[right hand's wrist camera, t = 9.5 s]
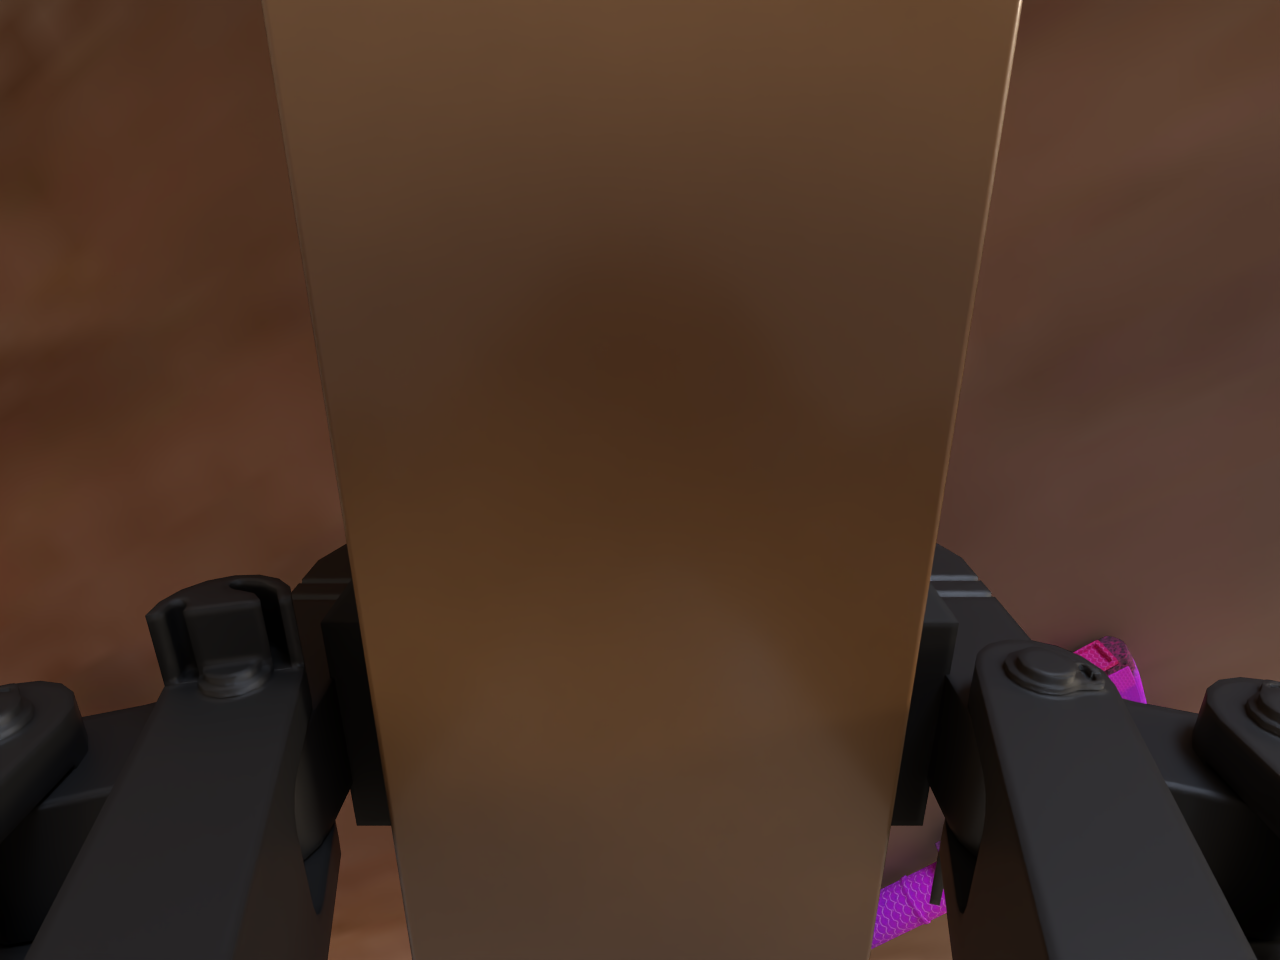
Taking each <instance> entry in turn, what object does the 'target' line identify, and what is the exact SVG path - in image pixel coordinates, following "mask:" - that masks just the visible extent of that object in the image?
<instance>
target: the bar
mask: <svg viewBox="0 0 1280 960" xmlns="http://www.w3.org/2000/svg"><path fill="white" fill-rule="evenodd" d="M1022 2H1023V0H261V3H262V9H263V16H264V22H265V28H266V35H267V41H268V47H269V54H270V60H271V66H272V73H273V79H274V85H275V92H276V98H277V104H278V111H279V117H280V123H281V130H282V136H283V142H284V149H285V155H286V161H287V168H288V174H289V180H290V187H291V193H292V200H293V206H294V212H295V219H296V225H297V231H298V238H299V244H300V250H301V257H302V263H303V269H304V276H305V282H306V288H307V295H308V301H309V307H310V314H311V320H312V326H313V333H314V339H315V345H316V352H317V358H318V364H319V371H320V377H321V383H322V390H323V396H324V402H325V409H326V415H327V421H328V428H329V434H330V440H331V447H332V453H333V460H334V466H335V472H336V479H337V485H338V491H339V498H340V504H341V510H342V517H343V523H344V529H345V536H346V542H347V548H348V555H349V561H350V567H351V574H352V580H353V586H354V593H355V599H356V605H357V612H358V618H359V624H360V631H361V637H362V643H363V650H364V656H365V662H366V669H367V675H368V681H369V688H370V694H371V701H372V707H373V713H374V720H375V726H376V732H377V739H378V745H379V751H380V758H381V764H382V770H383V777H384V783H385V789H386V796H387V802H388V808H389V815H390V821H391V827H392V834H393V840H394V846H395V853H396V859H397V865H398V872H399V878H400V884H401V891H402V897H403V903H404V910H405V916H406V922H407V929H408V935H409V941H410V948H411V954H412V960H869V959H870V953H871V947H872V940H873V934H874V928H875V922H876V915H877V909H878V903H879V897H880V890H881V884H882V878H883V872H884V865H885V859H886V853H887V847H888V840H889V834H890V828H891V821H892V815H893V809H894V803H895V796H896V790H897V784H898V778H899V771H900V765H901V759H902V753H903V746H904V740H905V734H906V728H907V721H908V715H909V709H910V703H911V696H912V690H913V684H914V678H915V671H916V665H917V659H918V653H919V646H920V640H921V634H922V628H923V621H924V615H925V609H926V602H927V596H928V590H929V584H930V577H931V571H932V565H933V559H934V552H935V546H936V540H937V534H938V527H939V521H940V515H941V509H942V502H943V496H944V490H945V484H946V477H947V471H948V465H949V459H950V452H951V446H952V440H953V434H954V427H955V421H956V415H957V409H958V402H959V396H960V390H961V383H962V377H963V371H964V365H965V358H966V352H967V346H968V340H969V333H970V327H971V321H972V315H973V308H974V302H975V296H976V290H977V283H978V277H979V271H980V265H981V258H982V252H983V246H984V240H985V233H986V227H987V221H988V215H989V208H990V202H991V196H992V190H993V183H994V177H995V171H996V165H997V158H998V152H999V146H1000V139H1001V133H1002V127H1003V121H1004V114H1005V108H1006V102H1007V96H1008V89H1009V83H1010V77H1011V71H1012V64H1013V58H1014V52H1015V46H1016V39H1017V33H1018V27H1019V21H1020V14H1021V8H1022Z"/></svg>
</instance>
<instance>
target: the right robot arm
mask: <svg viewBox="0 0 1280 960" xmlns="http://www.w3.org/2000/svg"><path fill="white" fill-rule="evenodd" d="M145 617H146V620H147V624H148V627H149V631H150V634H151V638H152V642H153V645H154V649H155V652H156V656H157V660H158V663H159V667H160V670H161V674H162V678H163V681H164V685H165V687H164V689H163V691H162V693H161V695H160V697H159V698H158V700H157V702H155V703H151V704H147V705H143V706H138V707H133V708H127V709H122V710H117V711H112V712H107V713H101V714H96V715H91V716H86V717H81V714H80V711H79V708H78V705H77V702H76V699H75V696H74V693H73V692H72V691H71V690H70V689H68V688H67V687H66V686H64V685H63V684H60V683H53V682H45V681H35V682H26V683H17V684H15V683H13V684H7V685H2V686H0V960H328V952H329V944H330V936H331V928H332V921H333V913H334V905H335V897H336V889H337V881H338V873H339V866H340V858H341V850H340V844H339V837H338V832H337V827H336V821H335V819H336V817H337V815H338V813H339V811H340V809H341V807H342V805H343V803H344V800H345V798H346V796H347V794H348V792H349V790H351V796H352V801H353V807H354V812H355V818H356V823H357V826H391V821H390V815H389V808H388V802H387V796H386V789H385V783H384V777H383V770H382V764H381V758H380V751H379V745H378V739H377V732H376V726H375V720H374V713H373V707H372V701H371V694H370V688H369V681H368V675H367V669H366V662H365V656H364V650H363V643H362V637H361V631H360V624H359V618H358V612H357V605H356V599H355V593H354V586H353V580H352V574H351V567H350V561H349V555H348V548H347V544H345V545H344V546H342V547H340V548H339V549H337V550H335V551H333V552H332V553H330V554H328V555H327V556H325V557H323V558H322V559H320V560H318V561H317V563H316V564H315V565H314V566H313V567H312V568H311V570H310V571H309V572H308V573H307V574H306V576H305V577H304V578H303V579H302V583H299V584H298V585H297V586H296V588H295V589H294V590H293V591H292V592H291V589H290V586H288V585H287V584H286V583H284V582H283V581H281V580H280V579H278V578H273V577H268V576H263V575H235V576H230V577H224V578H219V579H214V580H208V581H205V582H202V583H199V584H197V585H194V586H191V587H188V588H185V589H182V590H180V591H178V592H176V593H175V594H173V595H171V596H169V597H167V598H166V599H164V600H162V601H160V602H159V603H158V604H157V605H156V606H155V607H154V608H153V609H152V610H151V611H150V612H149V613H148V614H147V615H146V616H145ZM929 787H931V789H932V791H933V793H934V796H935V798H936V800H937V802H938V804H939V806H940V808H941V810H942V812H943V814H944V817H945V821H944V827H943V832H942V837H941V842H940V847H939V852H938V858H937V863H936V868H935V873H934V878H933V883H932V889H931V896H930V902H929V904H933V905H938V906H940V903H941V898H942V893H943V889H944V895H945V903H946V911H947V919H948V927H949V934H950V942H951V950H952V958H953V960H1280V682H1277V681H1273V680H1261V679H1252V678H1243V677H1238V678H1230V679H1223V680H1218V681H1217V682H1215V683H1214V684H1213V685H1211V686H1210V687H1209V688H1207V690H1206V693H1205V696H1204V699H1203V702H1202V705H1201V708H1200V711H1199V714H1197V713H1192V712H1187V711H1181V710H1176V709H1171V708H1166V707H1160V706H1155V705H1150V704H1145V703H1139V702H1135V701H1131V700H1127V699H1123V698H1122V697H1121V695H1120V693H1119V691H1118V689H1117V687H1116V685H1115V684H1114V683H1113V682H1112V681H1111V679H1110V678H1109V677H1108V676H1107V675H1106V673H1105V672H1104V671H1103V670H1102V669H1100V668H1099V667H1097V666H1096V665H1094V664H1093V663H1091V662H1090V661H1088V660H1087V659H1085V658H1084V657H1082V656H1080V655H1077V654H1075V653H1073V652H1070V651H1068V650H1065V649H1063V648H1060V647H1058V646H1054V645H1050V644H1045V643H1041V642H1036V641H1032V640H1031V639H1030V638H1029V637H1028V636H1027V634H1026V633H1025V632H1024V631H1023V630H1022V629H1021V627H1020V626H1019V625H1018V624H1017V623H1016V621H1015V620H1014V619H1013V618H1012V617H1011V616H1010V614H1009V613H1008V612H1007V611H1006V610H1005V608H1004V607H1003V606H1002V605H1001V604H1000V603H999V601H998V600H997V599H996V598H995V597H991V592H990V591H989V590H988V588H987V587H986V586H985V585H984V584H983V582H982V581H978V577H977V575H976V574H975V573H974V572H973V571H972V569H971V568H970V567H969V566H968V565H967V564H966V562H965V561H964V560H963V559H962V558H961V557H959V556H958V555H956V554H954V553H953V552H951V551H949V550H947V549H946V548H944V547H942V546H941V545H939V544H937V543H936V546H935V552H934V559H933V565H932V571H931V577H930V584H929V590H928V596H927V602H926V609H925V615H924V621H923V628H922V634H921V640H920V646H919V653H918V659H917V665H916V671H915V678H914V684H913V690H912V696H911V703H910V709H909V715H908V721H907V728H906V734H905V740H904V746H903V753H902V759H901V765H900V771H899V778H898V784H897V790H896V796H895V803H894V809H893V815H892V821H891V826H923V820H924V815H925V809H926V804H927V798H928V793H929Z"/></svg>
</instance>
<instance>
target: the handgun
mask: <svg viewBox="0 0 1280 960" xmlns="http://www.w3.org/2000/svg"><path fill="white" fill-rule="evenodd" d="M1073 653H1075V654H1077V655H1080V656H1082V657H1084V658H1085V659H1087V660H1088V661H1090V662H1091V663H1093V664H1094V665H1096V666H1097V667H1099V668H1100V669H1102V670H1103V671H1104V672H1105V673H1106V675H1107V676H1108V677H1109V678H1110V679H1111V681H1112V682H1113V683H1114V684H1115V685H1116V687H1117V689H1118V691H1119V693H1120V695H1121V697H1122V698H1123V699H1127V700H1131V701H1135V702H1139V703H1145V704H1147V703H1146V699H1145V695H1144V690H1143V686H1142V682H1141V679H1140V675H1139V672H1138V669H1137V667H1136V664H1135V662H1134V660H1133V658H1132V656H1131V654H1130V652H1129V650H1128V648H1127V646H1126V645H1125V643H1124V642H1123V641H1122V640H1120V639H1117V638H1114V637H1110V636H1105V637H1103V638H1101V639H1099V640H1096V641H1094V642H1092V643H1090V644H1088V645H1086V646H1084V647H1083V648H1081V649H1079V650H1077V651H1075V652H1073ZM940 842H941V841H939V842H937V843H935V845H936V847H937V850H938V852H939V847H940ZM936 863H937V862H935V863H933V864H931V865H929V866H927V867H925V868H923V869H921V870H919V871H917V872H915V873H913V874H911V875H909V876H906V875H905V876H903V877H902V878H901V879H900V880H899V881H897V882H895V883H893V884H891V885H889V886H887V887H885V888H883V889H881V890H880V897H879V903H878V909H877V915H876V922H875V928H874V934H873V940H872V947H871V949H873V948H875V947H877V946H879V945H881V944H883V943H885V942H887V941H889V940H891V939H893V938H895V937H897V936H900V935H902V934H904V933H906V932H908V931H910V930H912V929H914V928H916V927H918V926H920V925H922V924H928V923H930V922H931V920H933V919H935V918H937V917H939V916H941V915H943V914H945V913H947V911H946V903H945V895H944V889H943V893H942V898H941V903H940V906H938V905H933V904H929V902H930V896H931V889H932V883H933V878H934V873H935V868H936Z"/></svg>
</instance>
